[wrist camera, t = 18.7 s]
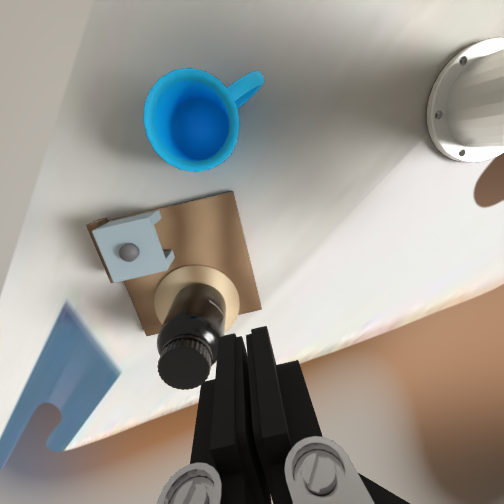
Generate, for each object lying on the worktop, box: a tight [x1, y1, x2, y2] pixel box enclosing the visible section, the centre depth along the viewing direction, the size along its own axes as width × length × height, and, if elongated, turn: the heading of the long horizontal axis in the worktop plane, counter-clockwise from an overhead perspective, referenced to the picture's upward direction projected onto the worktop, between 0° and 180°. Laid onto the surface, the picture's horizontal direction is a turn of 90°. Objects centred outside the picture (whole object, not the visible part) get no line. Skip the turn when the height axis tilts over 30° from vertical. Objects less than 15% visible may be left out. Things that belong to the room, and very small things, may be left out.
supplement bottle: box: [157, 283, 226, 390], centre depth 32 cm, size 7×7×12 cm
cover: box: [92, 210, 175, 283], centre depth 32 cm, size 6×6×5 cm
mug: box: [144, 68, 264, 172], centre depth 28 cm, size 12×8×8 cm
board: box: [86, 191, 262, 336], centre depth 36 cm, size 16×19×4 cm
